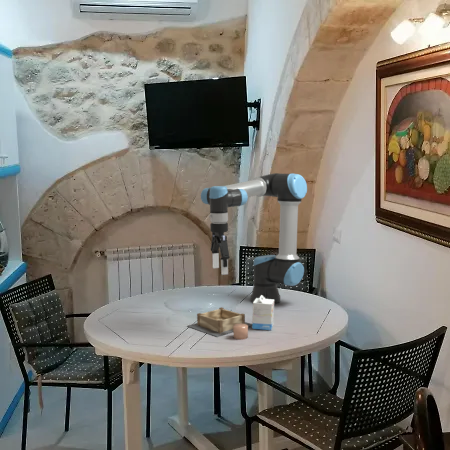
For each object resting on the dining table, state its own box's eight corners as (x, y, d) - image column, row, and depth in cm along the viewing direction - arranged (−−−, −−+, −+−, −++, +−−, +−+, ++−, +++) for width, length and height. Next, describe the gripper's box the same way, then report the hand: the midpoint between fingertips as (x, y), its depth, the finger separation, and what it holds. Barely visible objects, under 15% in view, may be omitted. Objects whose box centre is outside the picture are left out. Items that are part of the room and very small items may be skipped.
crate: (224, 316, 282) (224, 304, 281) (254, 325, 267) (254, 313, 266) (187, 326, 267) (187, 314, 267) (217, 337, 253) (216, 324, 252)
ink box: (271, 330, 260) (272, 300, 258) (251, 328, 261) (253, 298, 259) (273, 324, 268) (274, 295, 266) (254, 322, 270) (256, 293, 268)
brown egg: (241, 334, 256) (240, 322, 255) (250, 337, 252) (250, 325, 251) (230, 337, 252) (230, 325, 251) (240, 340, 248) (240, 328, 247)
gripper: (203, 219, 270) (204, 266, 273) (218, 226, 246) (220, 277, 249) (219, 218, 272) (220, 264, 275) (236, 225, 248) (237, 276, 251)
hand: (220, 271), depth 262 cm, fingers open, 13 cm apart
